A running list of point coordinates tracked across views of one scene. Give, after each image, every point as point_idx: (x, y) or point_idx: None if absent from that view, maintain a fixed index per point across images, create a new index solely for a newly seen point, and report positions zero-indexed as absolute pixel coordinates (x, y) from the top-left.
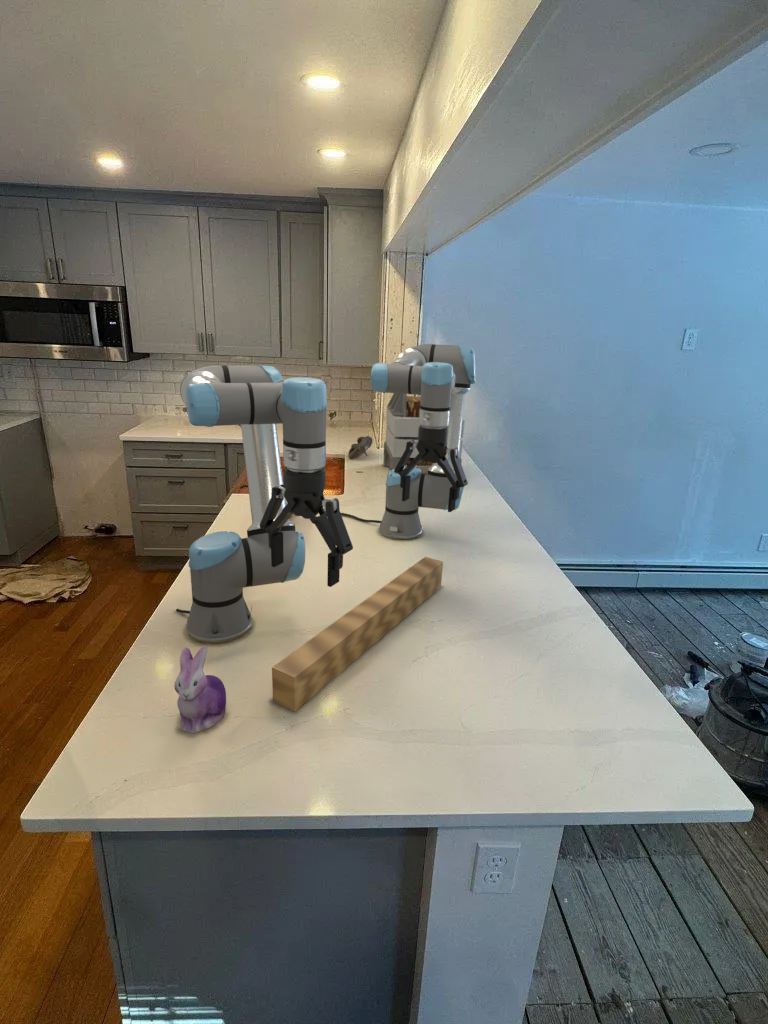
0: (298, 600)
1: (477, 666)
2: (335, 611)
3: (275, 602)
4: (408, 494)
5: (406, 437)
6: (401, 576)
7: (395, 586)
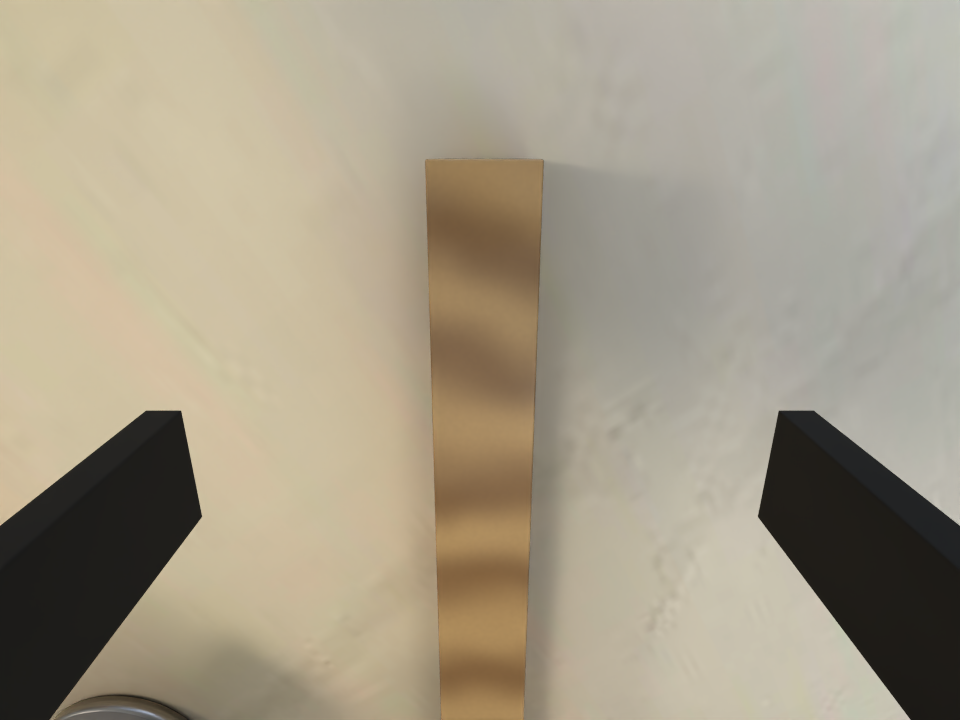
0: None
1: None
2: (309, 549)
3: None
4: (152, 468)
5: None
6: (447, 442)
7: (476, 531)
